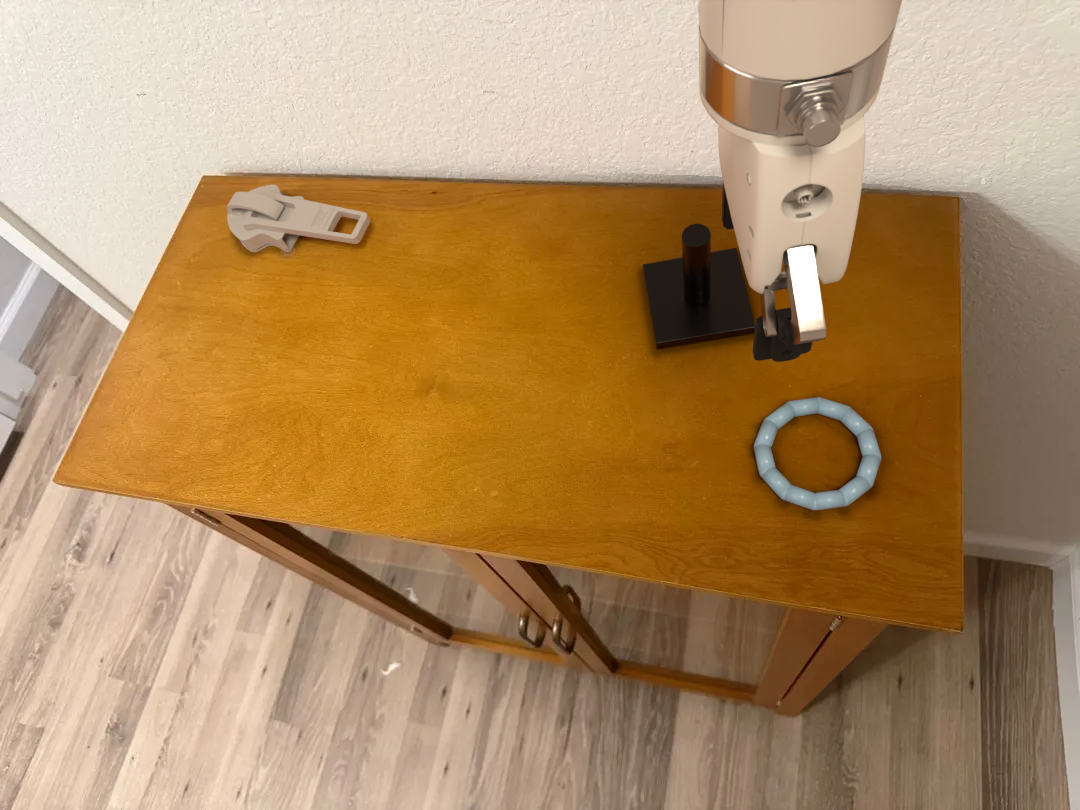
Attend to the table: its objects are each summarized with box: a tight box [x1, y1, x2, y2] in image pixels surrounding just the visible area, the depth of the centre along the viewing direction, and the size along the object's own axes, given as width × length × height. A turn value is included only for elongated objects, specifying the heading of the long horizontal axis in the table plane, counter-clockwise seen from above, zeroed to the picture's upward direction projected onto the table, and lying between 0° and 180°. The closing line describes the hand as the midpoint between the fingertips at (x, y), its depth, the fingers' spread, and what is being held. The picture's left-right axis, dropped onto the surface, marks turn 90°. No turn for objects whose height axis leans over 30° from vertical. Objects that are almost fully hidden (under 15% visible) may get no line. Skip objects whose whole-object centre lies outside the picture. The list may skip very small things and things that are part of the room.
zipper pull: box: [226, 184, 371, 253], centre depth 85 cm, size 8×18×4 cm, turn 70°
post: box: [642, 223, 756, 350], centre depth 69 cm, size 9×9×10 cm
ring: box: [753, 396, 882, 512], centre depth 64 cm, size 10×10×1 cm
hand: (763, 284), depth 47 cm, fingers open, 9 cm apart
